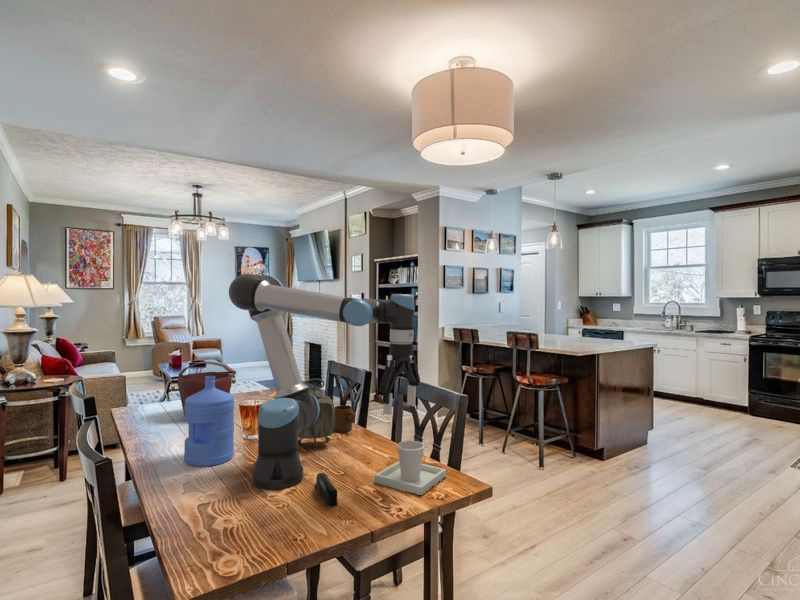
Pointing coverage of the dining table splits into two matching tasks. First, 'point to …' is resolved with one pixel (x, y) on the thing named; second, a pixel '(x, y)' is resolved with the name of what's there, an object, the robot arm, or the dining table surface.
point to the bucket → (203, 381)
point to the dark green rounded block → (326, 490)
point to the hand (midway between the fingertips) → (399, 409)
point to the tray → (426, 481)
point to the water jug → (209, 426)
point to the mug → (343, 418)
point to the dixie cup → (410, 459)
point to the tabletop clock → (320, 417)
